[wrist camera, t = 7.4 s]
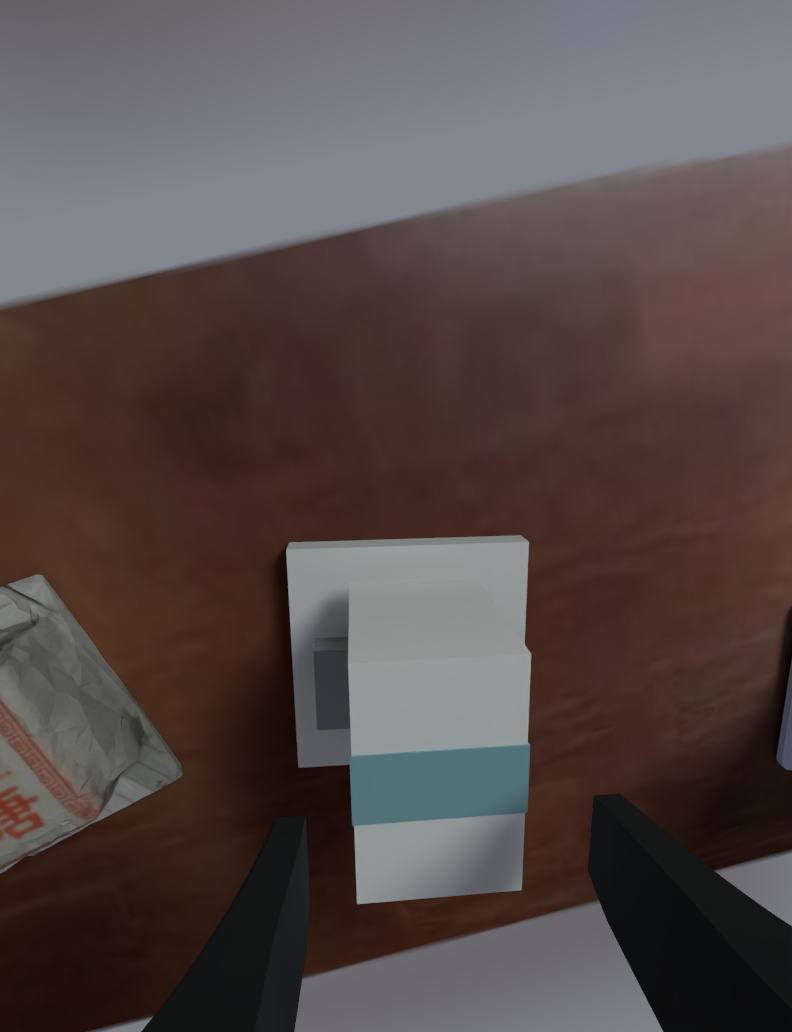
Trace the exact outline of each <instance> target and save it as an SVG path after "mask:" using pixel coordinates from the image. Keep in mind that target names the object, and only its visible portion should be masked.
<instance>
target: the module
mask: <svg viewBox="0 0 792 1032" xmlns="http://www.w3.org/2000/svg"><path fill="white" fill-rule="evenodd" d="M530 671H531V653H530V652H529V650H528V649H527V647H526V646H525V645H524V643H523V642H522V640H521V639H520V638H519V636H518V635H517V633H516V632H515V630H514V629H513V628H512V626H511V625H510V623H509V622H508V621H507V619H506V618H505V616H504V615H503V614H502V612H501V611H500V609H499V608H498V607H497V605H496V604H495V602H494V601H493V599H492V598H491V597H490V595H489V594H488V592H487V591H486V590H485V588H484V587H483V585H482V584H481V583H480V581H479V580H478V578H477V577H454V578H430V579H406V580H382V581H357V582H349V635H348V677H349V703H350V729H351V754H349V758H350V783H351V809H352V826H354V835H355V861H356V887H357V904H365V903H377V902H388V901H400V900H412V899H423V898H435V897H447V896H458V895H470V894H481V893H493V892H505V891H516V890H522V872H523V847H524V822H525V813H527V809H528V785H529V760H530V744H529V743H528V721H529V696H530Z"/></svg>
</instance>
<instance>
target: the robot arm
mask: <svg viewBox="0 0 792 1032" xmlns="http://www.w3.org/2000/svg"><path fill="white" fill-rule="evenodd" d="M777 762H778V763H779V764H780V765H781V766H782V767H783V768H785V769H787V770H792V660H791V667H790V673H789V680H788V686H787V692H786V699H785V705H784V712H783V718H782V725H781V731H780V737H779V744H778V750H777ZM588 871H589V874H590V877H591V880H592V882H593V885H594V888H595V890H596V893H597V896H598V899H599V901H600V904H601V906H602V909H603V911H604V914H605V916H606V918H607V921H608V923H609V925H610V927H611V929H612V931H613V933H614V935H615V937H616V939H617V941H618V943H619V945H620V947H621V949H622V951H623V953H624V955H625V957H626V959H627V961H628V963H629V965H630V967H631V969H632V971H633V973H634V975H635V977H636V979H637V981H638V983H639V985H640V987H641V989H642V990H643V992H644V994H645V996H646V998H647V1000H648V1002H649V1004H650V1006H651V1008H652V1010H653V1012H654V1014H655V1016H656V1018H657V1020H658V1022H659V1024H660V1026H661V1028H662V1030H663V1032H792V926H790V925H789V924H787V923H785V922H784V921H783V920H781V919H780V918H778V917H777V916H775V915H774V914H772V913H771V912H769V911H768V910H767V909H765V908H764V907H762V906H761V905H759V904H758V903H757V902H755V901H754V900H752V899H751V898H750V897H748V896H747V895H746V894H744V893H743V892H741V891H740V890H739V889H737V888H736V887H735V886H733V885H732V884H731V883H729V882H728V881H726V880H725V879H724V878H723V877H721V876H720V875H719V874H717V873H716V872H715V871H713V870H712V869H711V868H710V867H708V866H707V865H706V864H704V863H703V862H702V861H701V860H699V859H698V858H697V857H696V856H694V855H693V854H692V853H691V852H689V851H688V850H687V849H686V848H684V847H683V846H682V845H681V844H680V843H678V842H677V841H676V840H675V839H673V838H672V837H671V836H670V835H669V834H667V833H666V832H665V831H664V830H663V829H661V828H660V827H659V826H658V825H657V824H655V823H654V822H653V821H652V820H651V819H649V818H648V817H647V816H646V815H645V814H643V813H642V812H641V811H640V810H639V809H637V808H636V807H635V806H634V805H633V804H631V803H630V802H629V801H628V800H626V799H625V798H624V797H623V796H621V795H620V794H610V795H595V796H594V799H593V812H592V826H591V839H590V852H589V865H588ZM309 899H310V886H309V868H308V849H307V831H306V815H305V816H291V817H278V818H277V819H276V820H275V821H274V822H273V824H272V826H271V829H270V831H269V833H268V835H267V838H266V840H265V842H264V844H263V846H262V848H261V850H260V852H259V854H258V856H257V858H256V860H255V862H254V864H253V866H252V868H251V870H250V872H249V874H248V875H247V877H246V879H245V881H244V883H243V884H242V886H241V888H240V890H239V891H238V893H237V895H236V897H235V899H234V900H233V902H232V904H231V905H230V907H229V909H228V911H227V912H226V914H225V915H224V917H223V918H222V920H221V922H220V923H219V925H218V926H217V928H216V930H215V931H214V933H213V934H212V936H211V937H210V939H209V941H208V942H207V944H206V945H205V947H204V948H203V950H202V951H201V953H200V954H199V956H198V957H197V959H196V960H195V962H194V963H193V964H192V966H191V967H190V969H189V970H188V972H187V973H186V974H185V976H184V977H183V979H182V980H181V981H180V983H179V984H178V985H177V987H176V988H175V989H174V991H173V992H172V993H171V995H170V996H169V997H168V999H167V1000H166V1001H165V1003H164V1004H163V1005H162V1006H161V1008H160V1009H159V1010H158V1012H157V1013H156V1014H155V1015H154V1017H153V1018H152V1019H151V1020H150V1022H149V1023H148V1024H147V1025H146V1027H145V1028H144V1029H143V1031H142V1032H294V1029H295V1023H296V1016H297V1009H298V1002H299V996H300V989H301V982H302V976H303V969H304V962H305V955H306V948H307V933H308V917H309Z"/></svg>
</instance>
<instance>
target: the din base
mask: <svg viewBox="0 0 792 1032" xmlns="http://www.w3.org/2000/svg"><path fill="white" fill-rule="evenodd" d="M528 550H529V542H528V541H527V540H526V539H525V538H523V537H522V536H521V535H517V536H484V537H452V538H420V539H387V540H355V541H323V542H290V543H289V544H288V546H287V549H286V557H287V575H288V592H289V610H290V628H291V646H292V663H293V681H294V699H295V717H296V735H297V752H298V768H303V767H319V766H336V765H350V758H349V754H351V729H333V730H317V717H316V696H315V675H314V653H313V650H314V644H315V638H332V637H348V635H349V582H357V581H382V580H406V579H430V578H454V577H477V578H478V580H479V581H480V583H481V584H482V585H483V587H484V588H485V590H486V591H487V592H488V594H489V595H490V597H491V598H492V599H493V601H494V602H495V604H496V605H497V607H498V608H499V609H500V611H501V612H502V614H503V615H504V616H505V618H506V619H507V621H508V622H509V623H510V625H511V626H512V628H513V629H514V630H515V632H516V633H517V635H518V636H519V638H520V639H521V640H522V642H523V643H524V645H525V621H526V598H527V574H528Z"/></svg>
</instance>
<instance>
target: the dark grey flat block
mask: <svg viewBox="0 0 792 1032" xmlns="http://www.w3.org/2000/svg"><path fill="white" fill-rule="evenodd" d="M313 653H314V675H315V696H316V717H317V730H333V729H350V703H349V677H348V637H332V638H315V644H314V650H313Z"/></svg>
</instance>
